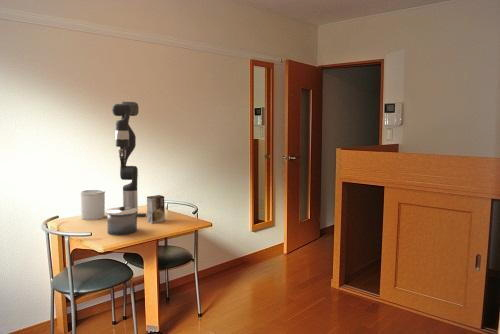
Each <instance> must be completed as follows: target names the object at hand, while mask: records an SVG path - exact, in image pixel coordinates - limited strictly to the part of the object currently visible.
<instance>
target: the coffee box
mask: <svg viewBox="0 0 500 334" xmlns="http://www.w3.org/2000/svg"><path fill="white" fill-rule="evenodd" d="M146 212H147V213H146V218H147V221H146V222H147V223H150V224H156V223H161V222H165V217H166V215H165V196H164V195H161V194H157V195H150V196H146Z"/></svg>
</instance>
